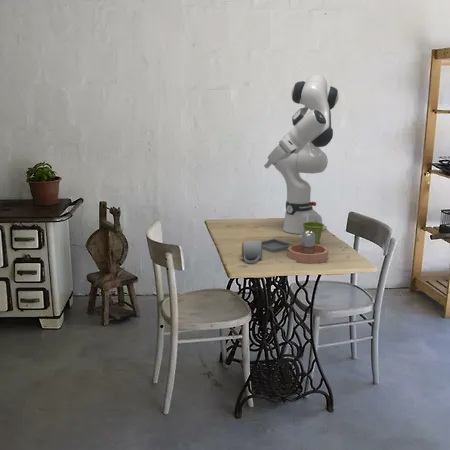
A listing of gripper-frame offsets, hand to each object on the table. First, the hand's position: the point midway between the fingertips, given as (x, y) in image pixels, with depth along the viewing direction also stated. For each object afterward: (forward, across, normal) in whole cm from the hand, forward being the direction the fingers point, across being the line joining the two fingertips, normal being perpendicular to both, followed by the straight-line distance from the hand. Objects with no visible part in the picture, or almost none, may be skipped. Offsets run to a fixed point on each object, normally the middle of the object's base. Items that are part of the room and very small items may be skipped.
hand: (269, 165), depth 240 cm
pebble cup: (+10, +8, +38) cm, 41 cm away
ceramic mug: (+25, +21, +26) cm, 41 cm away
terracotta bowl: (+11, +8, +39) cm, 41 cm away
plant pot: (+14, -13, +37) cm, 41 cm away
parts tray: (+23, +1, +27) cm, 36 cm away
